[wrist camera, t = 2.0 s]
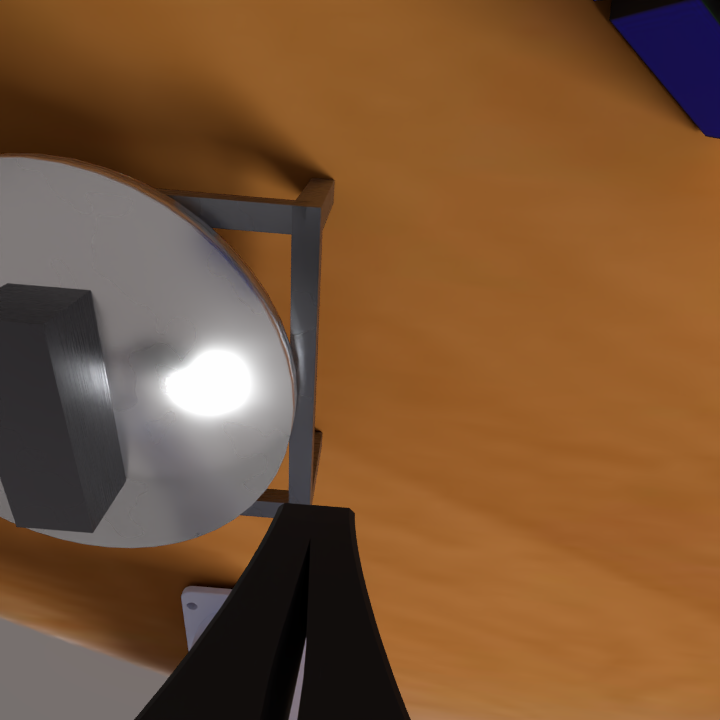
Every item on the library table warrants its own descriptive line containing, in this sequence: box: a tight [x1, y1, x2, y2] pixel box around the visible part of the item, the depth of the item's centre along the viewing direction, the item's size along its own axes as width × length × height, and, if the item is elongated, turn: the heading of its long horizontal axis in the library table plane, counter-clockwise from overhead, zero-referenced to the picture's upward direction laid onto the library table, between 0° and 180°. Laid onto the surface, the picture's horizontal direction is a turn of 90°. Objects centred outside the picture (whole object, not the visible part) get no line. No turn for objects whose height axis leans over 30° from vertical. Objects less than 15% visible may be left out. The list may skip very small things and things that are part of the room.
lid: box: [0, 153, 297, 548], centre depth 13 cm, size 12×12×3 cm
